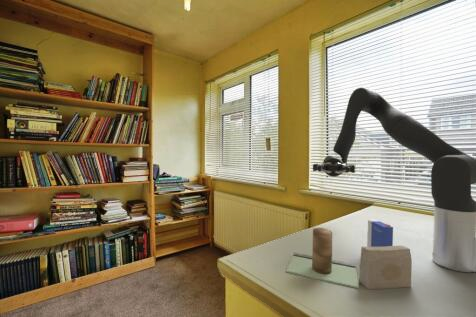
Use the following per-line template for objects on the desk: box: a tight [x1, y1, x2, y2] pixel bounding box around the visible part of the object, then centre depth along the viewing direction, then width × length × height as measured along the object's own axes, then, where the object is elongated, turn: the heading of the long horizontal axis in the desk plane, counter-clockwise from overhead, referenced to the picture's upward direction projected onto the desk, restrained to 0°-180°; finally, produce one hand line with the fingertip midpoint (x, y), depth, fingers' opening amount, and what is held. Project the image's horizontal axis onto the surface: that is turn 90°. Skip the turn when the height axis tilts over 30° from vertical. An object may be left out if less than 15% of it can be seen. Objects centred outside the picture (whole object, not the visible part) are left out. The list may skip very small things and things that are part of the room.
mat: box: [286, 255, 360, 290], centre depth 64 cm, size 18×10×1 cm, turn 66°
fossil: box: [358, 245, 413, 290], centre depth 57 cm, size 12×4×10 cm, turn 97°
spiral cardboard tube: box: [311, 227, 334, 274], centre depth 64 cm, size 5×5×11 cm
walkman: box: [366, 219, 394, 247], centre depth 71 cm, size 8×3×12 cm, turn 3°
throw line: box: [293, 252, 357, 269], centre depth 70 cm, size 18×2×1 cm, turn 66°
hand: (332, 169), depth 78 cm, fingers open, 8 cm apart
